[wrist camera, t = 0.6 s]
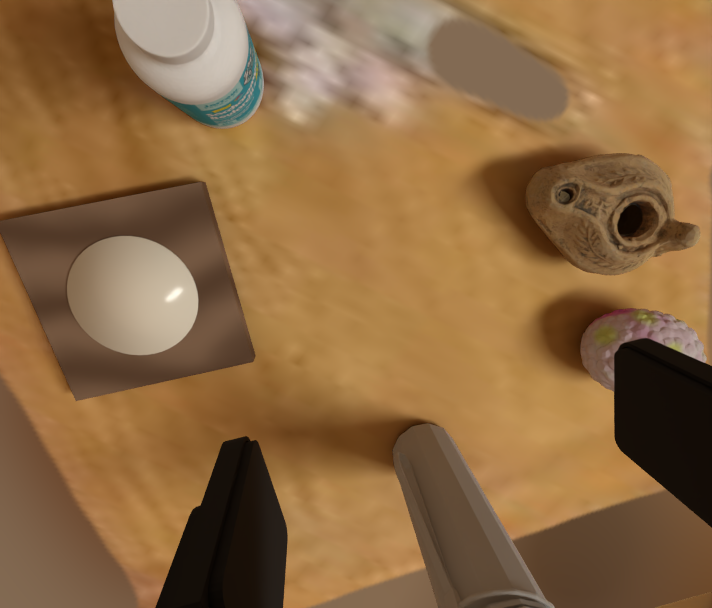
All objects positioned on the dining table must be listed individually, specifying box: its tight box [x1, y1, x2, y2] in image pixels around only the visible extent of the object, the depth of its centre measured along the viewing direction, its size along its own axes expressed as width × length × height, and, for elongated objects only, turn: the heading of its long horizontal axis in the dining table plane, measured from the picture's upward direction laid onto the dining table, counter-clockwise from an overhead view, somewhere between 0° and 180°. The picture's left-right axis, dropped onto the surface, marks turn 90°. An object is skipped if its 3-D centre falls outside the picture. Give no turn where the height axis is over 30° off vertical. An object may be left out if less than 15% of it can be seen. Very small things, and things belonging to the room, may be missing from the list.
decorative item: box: [580, 308, 707, 391], centre depth 40 cm, size 9×11×10 cm
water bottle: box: [392, 423, 555, 608], centre depth 32 cm, size 9×8×25 cm
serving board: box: [0, 182, 255, 401], centre depth 35 cm, size 17×17×2 cm
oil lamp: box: [525, 153, 700, 275], centre depth 35 cm, size 11×15×8 cm
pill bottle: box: [112, 0, 264, 129], centre depth 26 cm, size 8×7×14 cm
